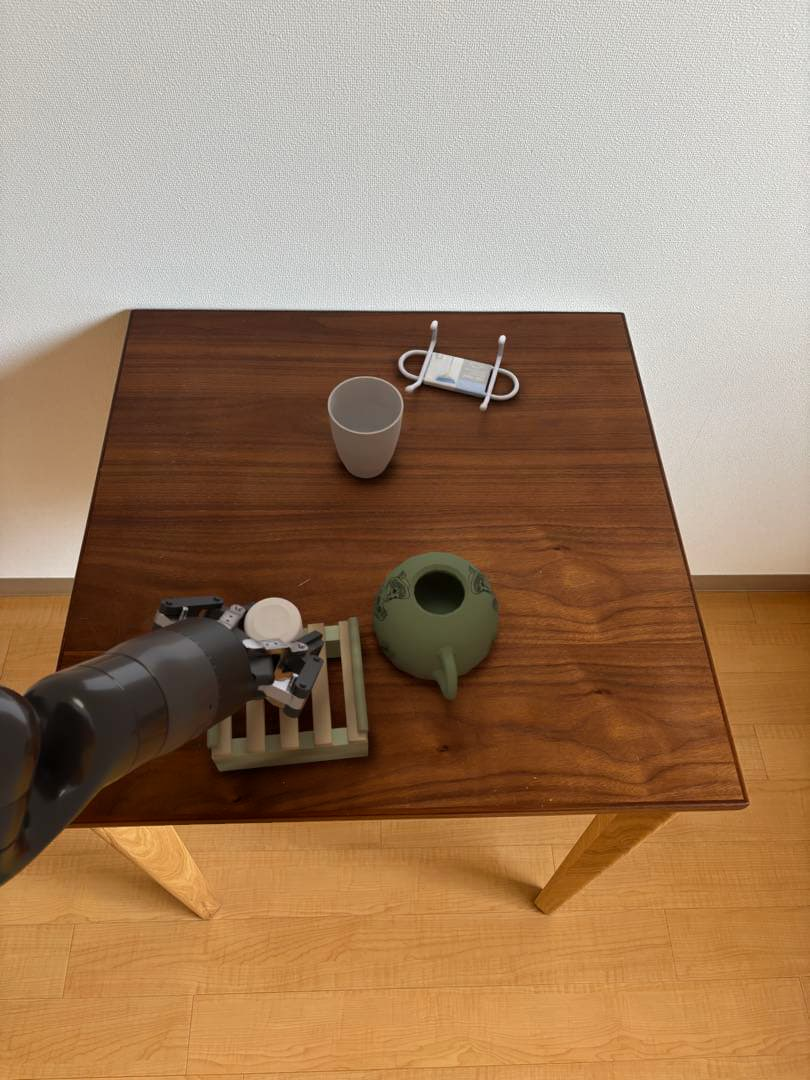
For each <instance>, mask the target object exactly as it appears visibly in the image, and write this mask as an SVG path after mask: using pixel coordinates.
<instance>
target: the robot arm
mask: <svg viewBox="0 0 810 1080" xmlns="http://www.w3.org/2000/svg"><path fill="white" fill-rule="evenodd" d="M258 602H259V601H252V602H249V603H247V604H244V605H240V604H236V603H235V604H231V606H227V605H225V604H224V603H225V600H224V599H223V598H222V597H220V596H218V595H213V594H211V595H200V596H199V595H197V596H188V597H187V596H186V597H175V598H173V597H172V598H163V599H161V600H160V603H159V606H158V608H157V610H156V613H155V616H154V619H153V622H152V625H151V628H150V629H151V631H149V632H147V633H144V634H141V635H138V636H135V637H133V638H130V639H128V640H125V641H123V642H120V643H118V644H117V645H114V646H113V647H111V648H109V649H108V650H106V651H105V652H103V653H101V654H98V655H97V656H94V657H91V658H89V659H86V660H84V661H81V662H79V663H76V664H73V665H71V666H68V667H65V668H62V669H59V670H57V671H55V672H53V673H51V674H48V675H46V676H44V677H43V678H40V679H39V680H38V681H36V682H35V683H33V684H32V685H31V686H29V687H28V688H27V689H26V690H25V691H24V693H23V694H20V693H19V692H18V691H15V690H14V689H12V688H9V687H7V686H5V685H3V684H0V888H1V887H3V886H4V885H6V884H7V883H8V882H10V881H11V880H13V878H15V877H17V875H19V874H20V873H22V872H23V870H24V869H26V868H27V867H28V866H29V865H30V864H31V863H33V861H34V860H35V859H37V857H39V855H41V854H42V853H43V852H44V850H45V849H47V847H49V846H50V845H51V843H53V842H54V840H55V839H56V838H57V837H58V836H60V834H61V833H63V832H64V830H66V829H67V827H69V825H70V824H72V823H73V822H74V821H75V819H76V818H77V817H79V815H80V814H81V813H82V812H83V811H84V809H85V808H86V807H87V806H88V804H89V803H91V801H92V800H93V799H94V798H95V797H96V796H97V795H98V794H99V793H100V791H101V790H103V789H104V788H106V787H107V786H109V785H111V784H113V783H115V782H116V781H119V780H121V779H122V778H124V777H125V776H127V775H128V774H131V773H132V772H134V771H135V770H137V769H139V768H140V767H142V766H143V765H145V764H147V763H148V762H150V761H153V760H154V759H157V758H160V757H162V756H166V755H168V754H170V753H172V752H174V751H176V750H177V749H179V748H181V747H182V746H184V745H186V744H188V743H189V742H191V741H192V740H195V739H196V738H198V737H200V736H201V735H203V733H205V732H207V730H208V729H210V728H212V727H213V726H215V725H216V724H218V723H220V722H221V721H223V720H225V719H226V718H228V717H230V716H231V715H232V716H233V715H234V714H235V713H237V712H238V711H239V710H240V709H241V708H242V707H243V706H245V705H246V703H247V702H248V701H252V700H262V699H264V700H265V699H266V697H267V696H269V697H271V698H273V699H276V700H278V701H280V702H282V703H283V704H286V705H285V707H284V709H283V712H284V714H285V715H286V716H288V717H291V718H298V719H299V716H300V714H301V712H302V710H303V708H304V706H305V704H306V702H307V700H308V698H309V696H310V694H311V690H312V688H313V686H314V683H315V681H316V679H317V677H318V674H319V672H320V670H321V667H322V665H323V663H324V661H323V659H322V658H320V657H319V654H320V652H321V649H322V647H323V645H324V641H322V640H321V639H322V637H323V634H321V633H320V632H318V631H316V630H314V631H313V632H311V633H309V634H307V635H305V636H303V637H301V638H300V639H298V640H297V642H289V643H285V642H283V641H282V640H281V639H279V638H278V639H269V640H260V641H257V640H255V639H253V638H251V637H249V636H248V635H247V634H246V633H245V630H244V621H245V617H246V615H247V613H248V611H249V610H250V608H251V607H252V606H253V605H255V604H256V603H258ZM202 611H203V614H202V616H200V614H201V612H202ZM286 660H287V661H286ZM290 676H292V677H291V679H286V680H284V681H278V680H279V679H280V678H284V677H290Z"/></svg>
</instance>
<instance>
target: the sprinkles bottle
mask: <svg viewBox="0 0 810 1080" xmlns="http://www.w3.org/2000/svg"><path fill="white" fill-rule="evenodd" d="M257 602H258V603H256V604H255V605H253V606H252V607H251V608H250V610H249V611H248V613H247V615H246V617H245V621H244V630H245V633H246V634H247V635H248V636H249V637H251V638H253V639H255V640H257V641H260V640H269V639H278V638H279V639H281V640H282V641H283V642H285V643H289V642H297V640H298V639H300V638H301V637H302V634H303V628H304V626H303V620H302V615H301V613H300V611H299V609H298V608H297V607H296V606H295V604H294V603H292V602H291V601H289V600H287V599H284V598H282V597H268V598H263V599H262V600H259V601H257ZM286 661H287V660H286ZM291 677H292V676H290V677H284V678H280V679H279V680H278V681H284V680H286V679H291ZM265 700H267V702H268V703H270V704H271V705H273V706H274V707H278V708H279V707H282V708H284V707H285V705H286V704H283V703H282V702H280V701H278V700H276V699H273V698H271V697H269V696H267V697H266V698H265Z"/></svg>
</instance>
